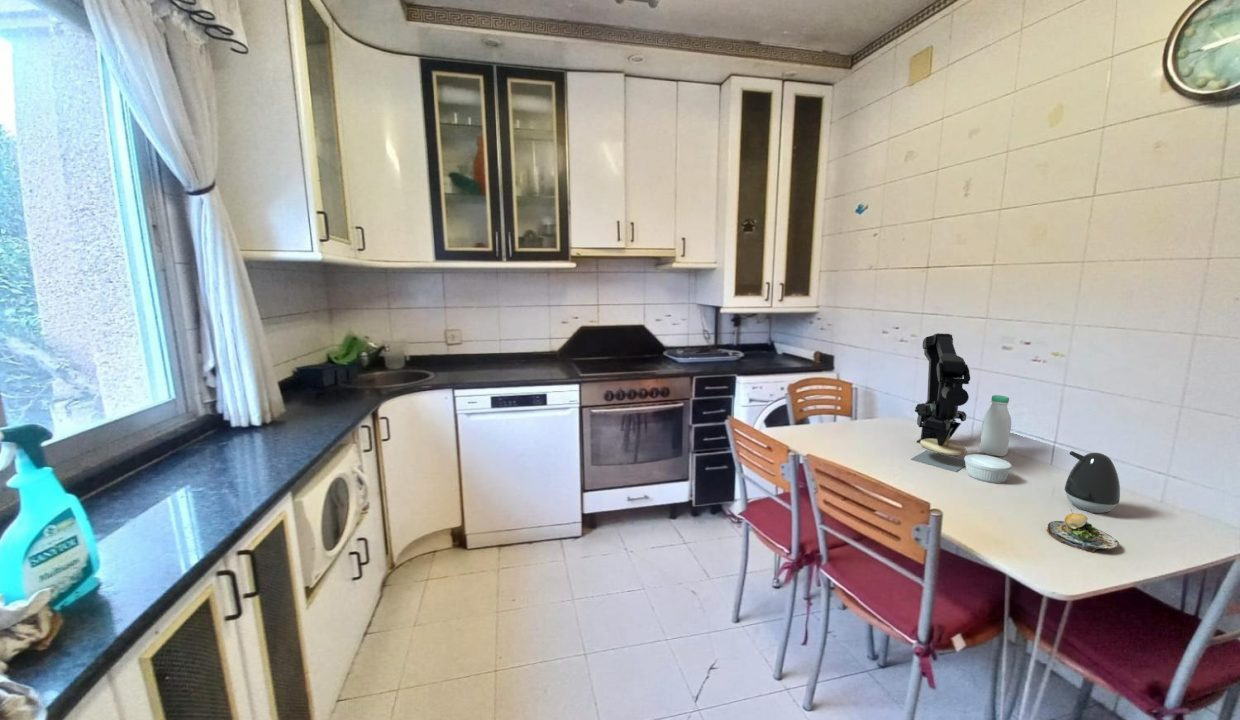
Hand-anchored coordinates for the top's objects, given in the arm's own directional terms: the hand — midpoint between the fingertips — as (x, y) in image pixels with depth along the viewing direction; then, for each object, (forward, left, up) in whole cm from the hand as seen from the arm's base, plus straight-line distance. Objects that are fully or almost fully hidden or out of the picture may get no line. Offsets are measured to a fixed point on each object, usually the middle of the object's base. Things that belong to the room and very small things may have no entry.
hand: (942, 444), depth 154 cm
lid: (0, 0, -1) cm, 1 cm away
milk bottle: (-23, +8, -6) cm, 25 cm away
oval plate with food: (+28, +38, -6) cm, 48 cm away
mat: (0, 0, -6) cm, 6 cm away
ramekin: (+4, +13, -6) cm, 15 cm away
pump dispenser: (+6, +36, -6) cm, 37 cm away
